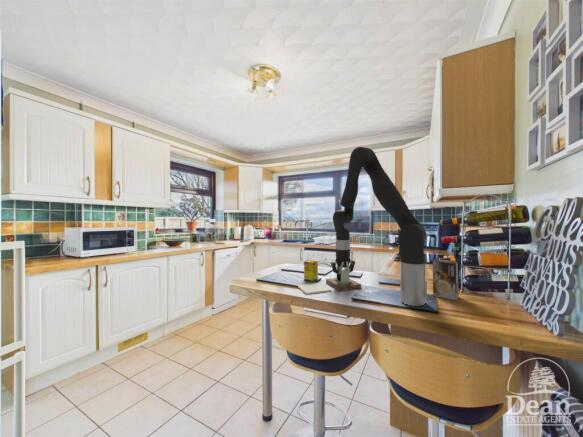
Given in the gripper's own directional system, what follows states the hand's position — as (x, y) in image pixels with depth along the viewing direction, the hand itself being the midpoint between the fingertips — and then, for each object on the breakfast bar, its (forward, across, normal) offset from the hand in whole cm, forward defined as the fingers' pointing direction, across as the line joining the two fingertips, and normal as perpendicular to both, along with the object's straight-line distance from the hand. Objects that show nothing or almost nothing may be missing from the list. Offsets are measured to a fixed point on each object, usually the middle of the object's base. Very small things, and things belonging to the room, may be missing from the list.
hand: (343, 280), depth 123 cm
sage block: (+2, 0, 0) cm, 2 cm away
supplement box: (+3, -12, +15) cm, 19 cm away
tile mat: (+3, -17, 0) cm, 17 cm away
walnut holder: (+3, 0, 0) cm, 3 cm away
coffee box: (+3, +35, -30) cm, 46 cm away
